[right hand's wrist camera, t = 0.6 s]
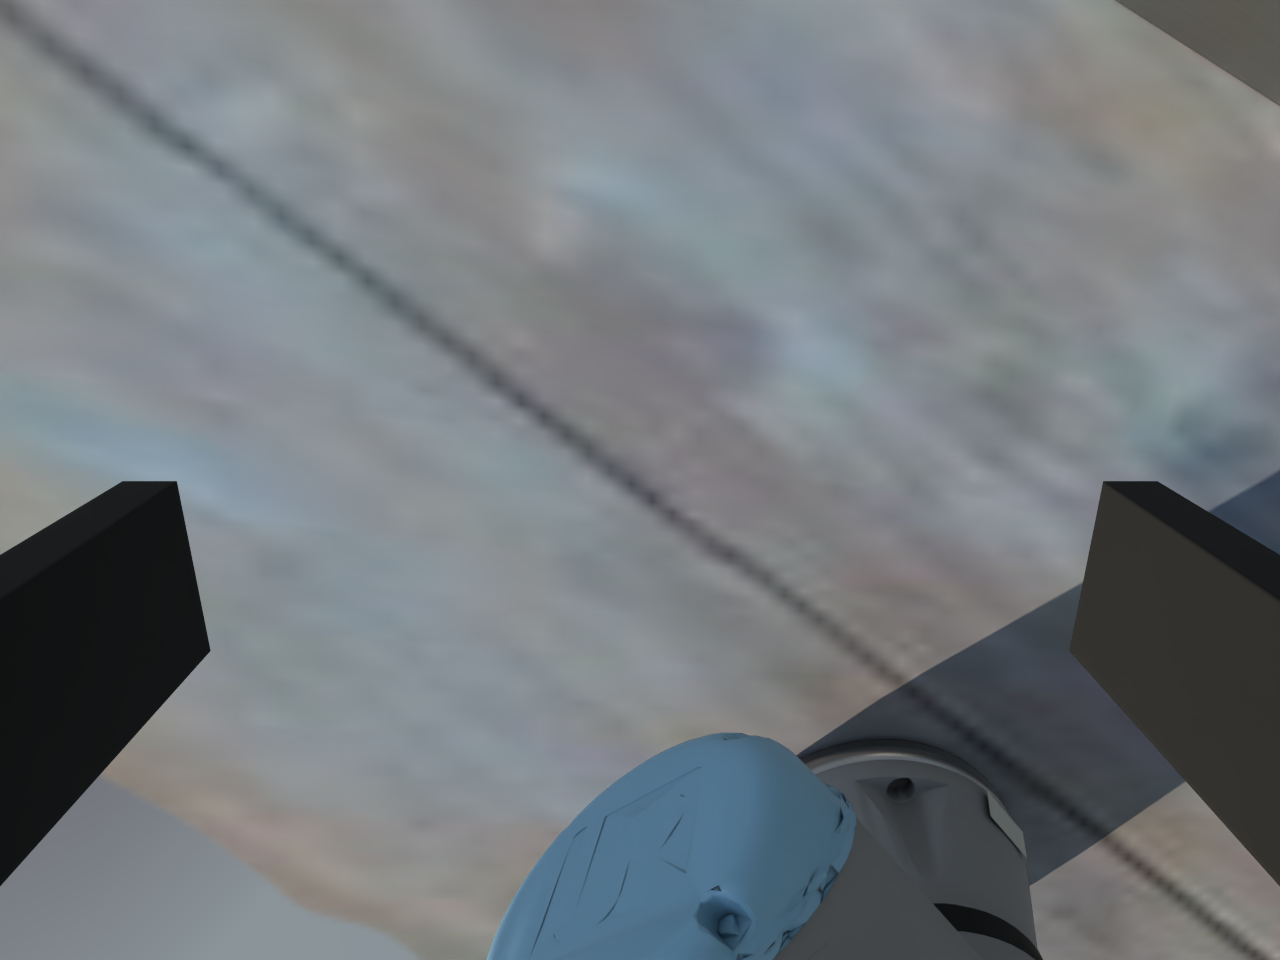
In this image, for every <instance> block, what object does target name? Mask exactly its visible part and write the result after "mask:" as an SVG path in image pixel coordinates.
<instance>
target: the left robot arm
mask: <svg viewBox="0 0 1280 960" xmlns="http://www.w3.org/2000/svg"><path fill="white" fill-rule="evenodd" d="M1025 856H1026V858H1027V855H1026V849H1025V843H1024V837H1023V832H1022V831H1021V829H1020V828H1019V827H1018V826H1017V825H1016V824H1015V822H1014V821H1013V819H1012V817H1011V816H1010V814H1009V812H1008V810H1007V809H1006V807H1005V805H1004V804H1003V802H1002V800H1001V798H1000V797H999V795H998V794H997V792H996V791H995V789H994V788H993V787H992V785H991V784H990V783H989V782H988V781H987V780H986V779H985V778H984V777H983V776H982V775H981V774H980V773H979V772H978V771H977V770H975V769H974V768H973V767H971V766H970V765H969V764H967V763H966V762H964V761H962V760H961V759H959V758H957V757H955V756H953V755H951V754H949V753H947V752H945V751H942V750H939V749H936V748H934V747H930V746H927V745H923V744H919V743H913V742H908V741H899V740H865V741H856V742H850V743H844V744H840V745H836V746H832V747H829V748H826V749H823V750H820V751H817V752H814V753H812V754H810V755H807V756H805V757H803V758H801V759H799V758H798V757H797V756H796V755H795V754H794V753H793V752H791V751H790V750H789V749H788V748H786V747H785V746H783V745H781V744H780V743H778V742H776V741H774V740H772V739H769V738H764V737H760V736H749V735H746V734H743V733H718V734H712V735H707V736H704V737H700V738H696V739H692V740H689V741H686V742H684V743H681V744H679V745H676V746H674V747H672V748H670V749H667V750H665V751H663V752H661V753H659V754H658V755H656V756H654V757H652V758H650V759H649V760H647V761H645V762H644V763H642V764H641V765H639V766H637V767H636V768H634V769H633V770H631V771H630V772H629V773H627V774H626V775H624V776H623V777H622V778H620V779H619V780H618V781H616V782H615V783H614V784H612V785H611V786H610V787H609V788H608V789H606V790H605V791H604V792H603V793H601V794H600V795H599V796H598V797H597V798H596V799H594V800H593V801H592V802H591V803H590V804H589V805H588V806H587V807H586V808H585V809H584V810H583V811H582V812H581V813H580V814H579V815H578V816H577V817H576V818H575V819H574V820H573V821H572V823H571V824H570V825H569V826H568V827H567V828H566V829H565V830H564V831H563V832H562V833H561V834H560V835H559V836H558V837H557V838H556V840H555V841H554V842H553V843H552V844H551V845H550V847H549V848H548V849H547V850H546V852H545V853H544V854H543V856H542V857H541V858H540V859H539V861H538V862H537V863H536V865H535V866H534V867H533V869H532V870H531V872H530V873H529V875H528V876H527V878H526V879H525V881H524V882H523V884H522V885H521V887H520V888H519V890H518V892H517V893H516V895H515V897H514V899H513V900H512V902H511V904H510V906H509V908H508V910H507V912H506V914H505V916H504V918H503V920H502V922H501V924H500V926H499V928H498V931H497V933H496V935H495V938H494V940H493V943H492V946H491V948H490V951H489V954H488V958H487V960H1043V959H1042V957H1041V955H1040V953H1039V951H1038V949H1037V942H1036V935H1035V927H1034V919H1033V911H1032V904H1031V896H1030V888H1029V881H1028V873H1027V866H1026V858H1025Z"/></svg>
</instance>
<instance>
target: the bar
mask: <svg viewBox="0 0 1280 960" xmlns="http://www.w3.org/2000/svg"><path fill="white" fill-rule="evenodd" d="M1116 1H1117V2H1119V3H1120V4H1122V5H1124V6H1125V7H1127V8H1128V9H1130V10H1131V11H1133V12H1134V13H1136V14H1138V15H1139V16H1141V17H1142V18H1144V19H1145V20H1147V21H1149V22H1150V23H1152V24H1153V25H1155V26H1156V27H1158V28H1159V29H1161V30H1163V31H1164V32H1166V33H1167V34H1169V35H1170V36H1172V37H1173V38H1175V39H1177V40H1178V41H1180V42H1181V43H1183V44H1184V45H1186V46H1188V47H1189V48H1191V49H1192V50H1194V51H1195V52H1197V53H1198V54H1200V55H1202V56H1203V57H1205V58H1206V59H1208V60H1209V61H1211V62H1212V63H1214V64H1216V65H1217V66H1219V67H1220V68H1222V69H1223V70H1225V71H1226V72H1228V73H1230V74H1231V75H1233V76H1234V77H1236V78H1237V79H1239V80H1241V81H1242V82H1244V83H1245V84H1247V85H1248V86H1250V87H1251V88H1253V89H1255V90H1256V91H1258V92H1259V93H1261V94H1262V95H1264V96H1265V97H1267V98H1269V99H1270V100H1272V101H1273V102H1275V103H1276V104H1278V105H1280V0H1116Z"/></svg>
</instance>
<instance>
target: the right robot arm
mask: <svg viewBox="0 0 1280 960" xmlns="http://www.w3.org/2000/svg"><path fill="white" fill-rule="evenodd" d="M209 652H210V646H209V641H208V636H207V631H206V626H205V621H204V616H203V611H202V606H201V601H200V596H199V591H198V586H197V581H196V576H195V571H194V566H193V561H192V556H191V551H190V546H189V541H188V536H187V531H186V526H185V521H184V516H183V511H182V506H181V500H180V495H179V490H178V485H177V481H122V482H121V483H119V484H117V485H116V486H114V487H112V488H111V489H109V490H107V491H106V492H104V493H102V494H101V495H99V496H98V497H96V498H94V499H93V500H91V501H89V502H88V503H86V504H84V505H83V506H81V507H79V508H78V509H76V510H74V511H73V512H71V513H69V514H68V515H66V516H64V517H63V518H61V519H59V520H58V521H56V522H54V523H53V524H51V525H49V526H48V527H46V528H44V529H43V530H41V531H39V532H38V533H36V534H34V535H33V536H31V537H29V538H28V539H26V540H24V541H23V542H21V543H19V544H18V545H16V546H14V547H13V548H11V549H10V550H8V551H6V552H5V553H3V554H1V555H0V886H1V885H2V884H3V882H4V881H5V880H6V879H7V878H8V877H9V876H10V875H11V874H12V872H13V871H14V870H15V869H16V868H17V867H18V866H19V865H20V863H21V862H22V861H23V860H24V859H25V858H26V857H27V856H28V855H29V853H30V852H31V851H32V850H33V849H34V848H35V847H36V846H37V844H38V843H39V842H40V841H41V840H42V839H43V838H44V837H45V835H46V834H47V833H48V832H49V831H50V830H51V829H52V828H53V827H54V825H55V824H56V823H57V822H58V821H59V820H60V819H61V818H62V816H63V815H64V814H65V813H66V812H67V811H68V810H69V809H70V807H71V806H72V805H73V804H74V803H75V802H76V801H77V800H78V799H79V797H80V796H81V795H82V794H83V793H84V792H85V791H86V789H87V788H88V787H89V786H90V785H91V784H92V783H93V782H94V781H95V779H96V778H97V777H98V776H99V775H100V774H101V773H102V772H103V771H104V769H105V768H106V767H107V766H108V765H109V764H110V763H111V762H112V760H113V759H114V758H115V757H116V756H117V755H118V754H119V753H120V752H121V750H122V749H123V748H124V747H125V746H126V745H127V744H128V743H129V741H130V740H131V739H132V738H133V737H134V736H135V735H136V734H137V732H138V731H139V730H140V729H141V728H142V727H143V726H144V725H145V724H146V722H147V721H148V720H149V719H150V718H151V717H152V716H153V715H154V713H155V712H156V711H157V710H158V709H159V708H160V707H161V706H162V704H163V703H164V702H165V701H166V700H167V699H168V698H169V697H170V696H171V694H172V693H173V692H174V691H175V690H176V689H177V688H178V687H179V685H180V684H181V683H182V682H183V681H184V680H185V679H186V678H187V676H188V675H189V674H190V673H191V672H192V671H193V670H194V669H195V668H196V666H197V665H198V664H199V663H200V662H201V661H202V660H203V659H204V657H205V656H206V655H207V654H208V653H209ZM1070 652H1071V653H1072V654H1073V655H1074V656H1075V657H1076V659H1077V660H1078V661H1079V662H1080V663H1081V664H1082V665H1083V666H1084V668H1085V669H1086V670H1087V671H1088V672H1089V673H1090V674H1091V675H1092V676H1093V678H1094V679H1095V680H1096V681H1097V682H1098V683H1099V684H1100V685H1101V687H1102V688H1103V689H1104V690H1105V691H1106V692H1107V693H1108V694H1109V696H1110V697H1111V698H1112V699H1113V700H1114V701H1115V702H1116V703H1117V704H1118V706H1119V707H1120V708H1121V709H1122V710H1123V711H1124V712H1125V713H1126V715H1127V716H1128V717H1129V718H1130V719H1131V720H1132V721H1133V722H1134V724H1135V725H1136V726H1137V727H1138V728H1139V729H1140V730H1141V731H1142V732H1143V734H1144V735H1145V736H1146V737H1147V738H1148V739H1149V740H1150V741H1151V743H1152V744H1153V745H1154V746H1155V747H1156V748H1157V749H1158V750H1159V752H1160V753H1161V754H1162V755H1163V756H1164V757H1165V758H1166V759H1167V760H1168V762H1169V763H1170V764H1171V765H1172V766H1173V767H1174V768H1175V769H1176V771H1177V772H1178V773H1179V774H1180V775H1181V776H1182V777H1183V778H1184V779H1185V781H1186V782H1187V783H1188V784H1189V785H1190V786H1191V787H1192V788H1193V790H1194V791H1195V792H1196V793H1197V794H1198V795H1199V796H1200V797H1201V799H1202V800H1203V801H1204V802H1205V803H1206V804H1207V805H1208V806H1209V807H1210V809H1211V810H1212V811H1213V812H1214V813H1215V814H1216V815H1217V816H1218V818H1219V819H1220V820H1221V821H1222V822H1223V823H1224V824H1225V825H1226V827H1227V828H1228V829H1229V830H1230V831H1231V832H1232V833H1233V834H1234V835H1235V837H1236V838H1237V839H1238V840H1239V841H1240V842H1241V843H1242V844H1243V846H1244V847H1245V848H1246V849H1247V850H1248V851H1249V852H1250V853H1251V855H1252V856H1253V857H1254V858H1255V859H1256V860H1257V861H1258V862H1259V863H1260V865H1261V866H1262V867H1263V868H1264V869H1265V870H1266V871H1267V872H1268V874H1269V875H1270V876H1271V877H1272V878H1273V879H1274V880H1275V881H1276V883H1277V884H1278V885H1279V886H1280V555H1279V554H1277V553H1275V552H1274V551H1272V550H1270V549H1269V548H1267V547H1266V546H1264V545H1262V544H1261V543H1259V542H1257V541H1256V540H1254V539H1252V538H1251V537H1249V536H1247V535H1246V534H1244V533H1242V532H1241V531H1239V530H1237V529H1236V528H1234V527H1232V526H1231V525H1229V524H1227V523H1226V522H1224V521H1222V520H1221V519H1219V518H1217V517H1216V516H1214V515H1212V514H1211V513H1209V512H1207V511H1206V510H1204V509H1202V508H1201V507H1199V506H1197V505H1196V504H1194V503H1192V502H1191V501H1189V500H1187V499H1186V498H1184V497H1182V496H1181V495H1179V494H1178V493H1176V492H1174V491H1173V490H1171V489H1169V488H1168V487H1166V486H1164V485H1163V484H1161V483H1159V482H1158V481H1103V485H1102V490H1101V495H1100V500H1099V506H1098V511H1097V516H1096V521H1095V526H1094V531H1093V536H1092V541H1091V546H1090V551H1089V556H1088V561H1087V566H1086V571H1085V576H1084V581H1083V586H1082V591H1081V596H1080V601H1079V606H1078V611H1077V616H1076V621H1075V626H1074V631H1073V636H1072V641H1071V646H1070Z"/></svg>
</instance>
